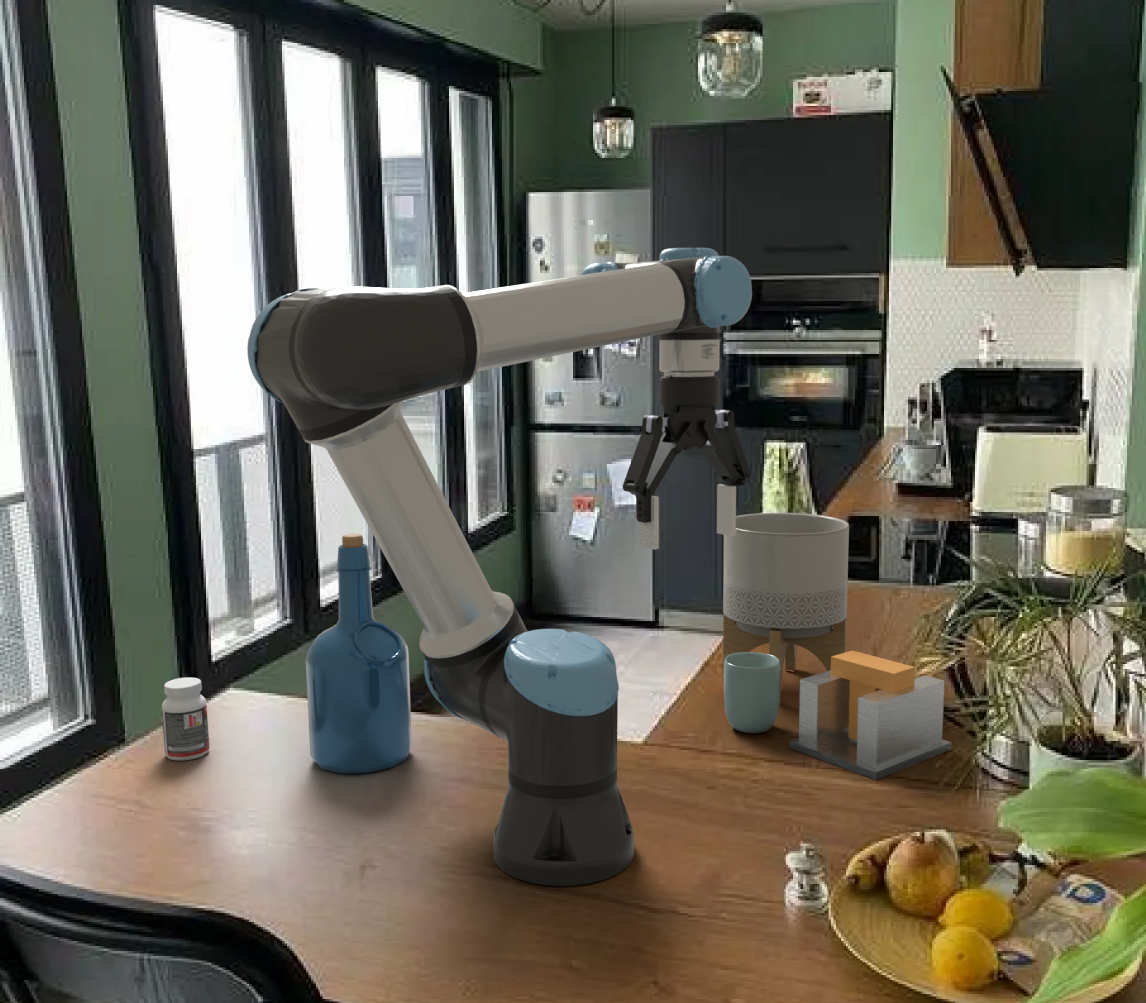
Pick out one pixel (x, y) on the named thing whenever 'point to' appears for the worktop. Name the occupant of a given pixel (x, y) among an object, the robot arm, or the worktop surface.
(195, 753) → the pill bottle
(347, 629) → the wine bottle
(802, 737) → the bracket
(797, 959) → the worktop surface
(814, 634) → the planter
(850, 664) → the orange t-shaped block
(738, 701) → the cup
